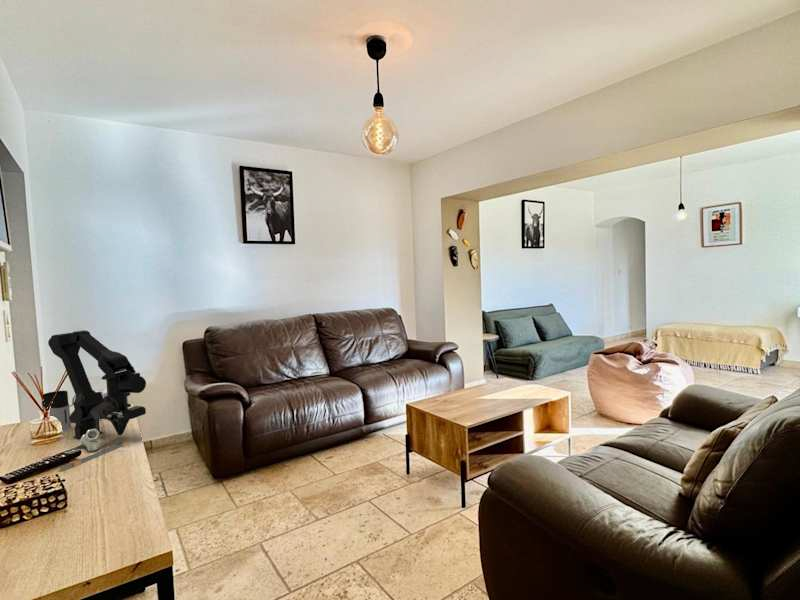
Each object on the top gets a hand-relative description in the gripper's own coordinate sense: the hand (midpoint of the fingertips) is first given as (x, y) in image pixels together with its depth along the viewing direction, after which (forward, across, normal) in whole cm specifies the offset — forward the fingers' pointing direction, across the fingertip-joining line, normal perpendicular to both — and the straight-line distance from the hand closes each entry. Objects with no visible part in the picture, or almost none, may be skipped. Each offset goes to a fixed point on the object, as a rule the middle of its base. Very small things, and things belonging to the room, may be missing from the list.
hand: (120, 434), depth 145 cm
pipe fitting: (+2, 0, -10) cm, 10 cm away
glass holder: (+2, -30, +2) cm, 30 cm away
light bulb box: (+2, -32, +17) cm, 36 cm away
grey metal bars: (+2, 0, -14) cm, 14 cm away
